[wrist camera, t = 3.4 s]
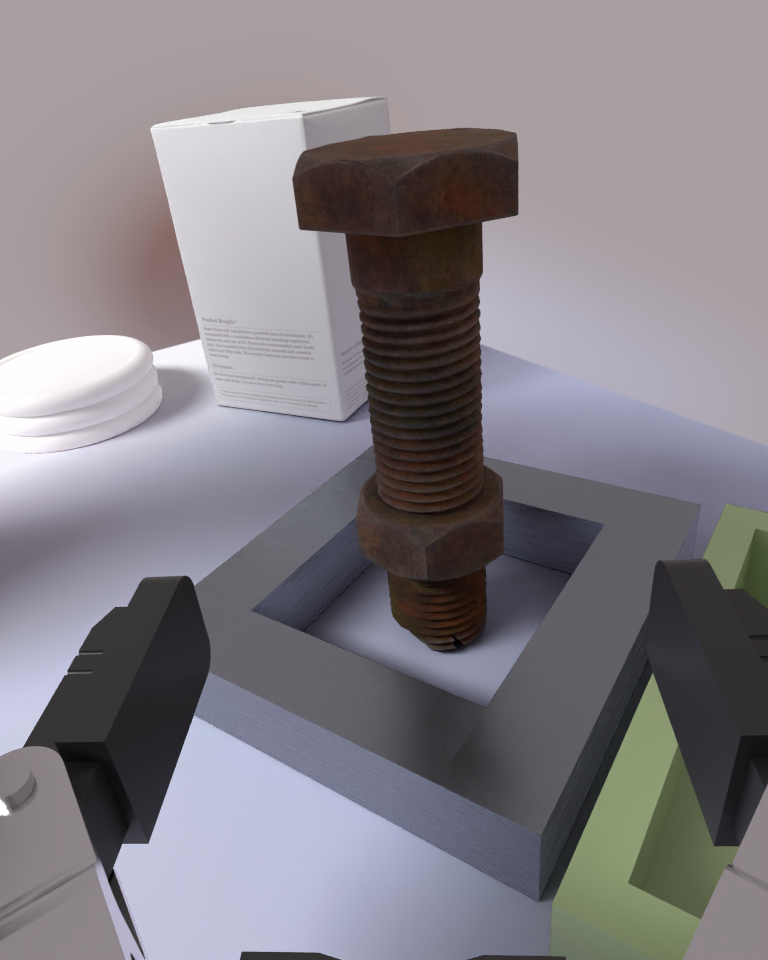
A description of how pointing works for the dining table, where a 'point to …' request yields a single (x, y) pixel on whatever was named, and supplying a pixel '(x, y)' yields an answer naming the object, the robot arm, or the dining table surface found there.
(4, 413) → the white round disc
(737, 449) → the dining table surface
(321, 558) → the square frame
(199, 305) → the supplement box
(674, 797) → the tray
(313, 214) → the bolt
